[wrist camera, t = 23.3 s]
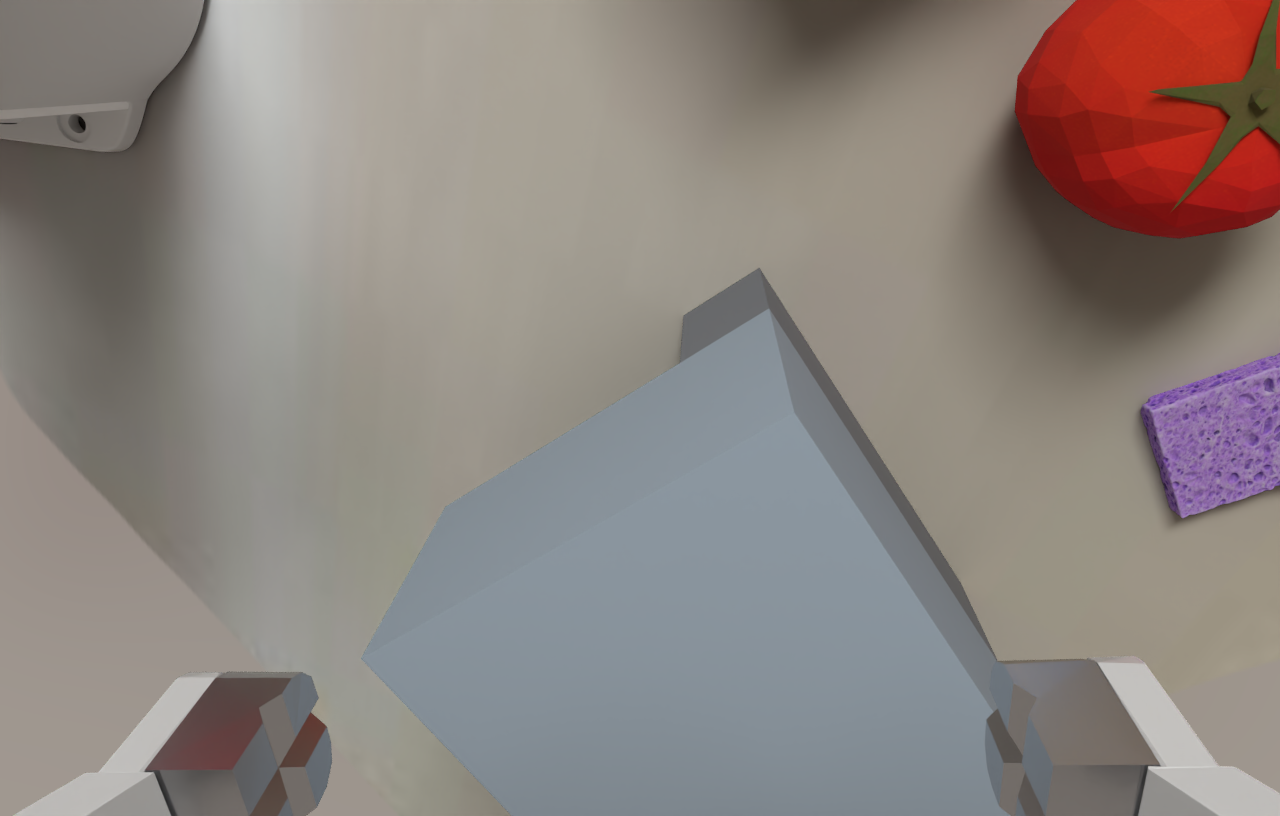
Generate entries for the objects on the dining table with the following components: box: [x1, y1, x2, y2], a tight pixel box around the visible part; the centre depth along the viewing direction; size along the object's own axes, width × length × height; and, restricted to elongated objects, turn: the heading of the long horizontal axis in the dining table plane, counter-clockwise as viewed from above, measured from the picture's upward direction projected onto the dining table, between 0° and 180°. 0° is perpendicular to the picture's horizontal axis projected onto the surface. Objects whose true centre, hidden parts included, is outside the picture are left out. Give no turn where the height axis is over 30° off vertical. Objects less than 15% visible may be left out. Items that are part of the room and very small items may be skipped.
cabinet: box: [361, 268, 1010, 816], centre depth 40 cm, size 18×22×18 cm
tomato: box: [1015, 0, 1280, 238], centre depth 33 cm, size 11×13×10 cm
